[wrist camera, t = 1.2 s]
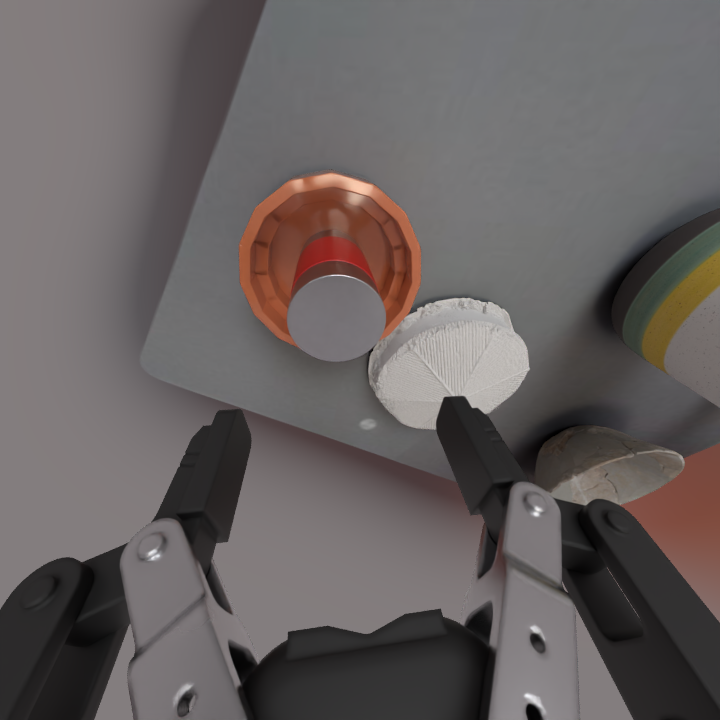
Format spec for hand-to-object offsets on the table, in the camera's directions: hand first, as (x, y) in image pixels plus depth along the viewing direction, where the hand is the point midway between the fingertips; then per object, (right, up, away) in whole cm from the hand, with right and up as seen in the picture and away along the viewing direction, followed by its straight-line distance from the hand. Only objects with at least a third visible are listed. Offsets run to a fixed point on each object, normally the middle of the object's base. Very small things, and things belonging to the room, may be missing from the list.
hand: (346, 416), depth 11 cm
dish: (-2, +12, +15) cm, 19 cm away
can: (-2, +11, +14) cm, 18 cm away
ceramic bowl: (+41, -13, +41) cm, 59 cm away
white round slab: (+11, +2, +25) cm, 27 cm away
